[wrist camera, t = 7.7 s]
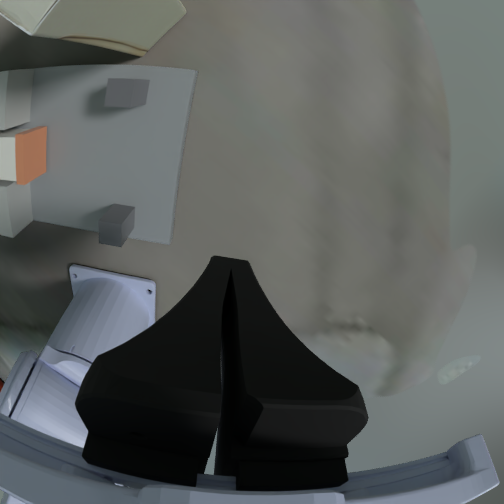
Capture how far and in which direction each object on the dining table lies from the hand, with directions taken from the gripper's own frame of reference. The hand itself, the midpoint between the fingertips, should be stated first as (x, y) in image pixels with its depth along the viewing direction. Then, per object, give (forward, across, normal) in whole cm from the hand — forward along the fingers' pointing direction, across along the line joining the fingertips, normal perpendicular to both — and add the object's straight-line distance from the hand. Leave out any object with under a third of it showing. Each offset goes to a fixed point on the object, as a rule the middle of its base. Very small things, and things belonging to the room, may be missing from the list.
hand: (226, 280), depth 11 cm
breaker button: (+9, +18, -2) cm, 20 cm away
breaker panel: (+10, +14, -2) cm, 17 cm away
